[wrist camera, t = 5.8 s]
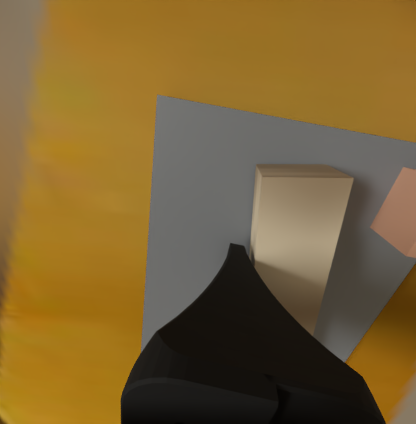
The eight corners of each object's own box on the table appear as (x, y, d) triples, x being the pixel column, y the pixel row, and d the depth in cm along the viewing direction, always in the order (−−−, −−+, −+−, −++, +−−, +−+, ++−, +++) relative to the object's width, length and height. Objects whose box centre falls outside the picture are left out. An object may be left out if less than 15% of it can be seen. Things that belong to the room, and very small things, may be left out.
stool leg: (281, 383, 16) (289, 425, 13) (240, 378, 16) (241, 419, 14) (326, 164, 9) (353, 178, 7) (256, 163, 10) (262, 177, 7)
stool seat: (315, 378, 17) (320, 396, 16) (146, 339, 18) (141, 354, 17) (462, 152, 10) (491, 157, 9) (165, 97, 10) (157, 94, 9)
